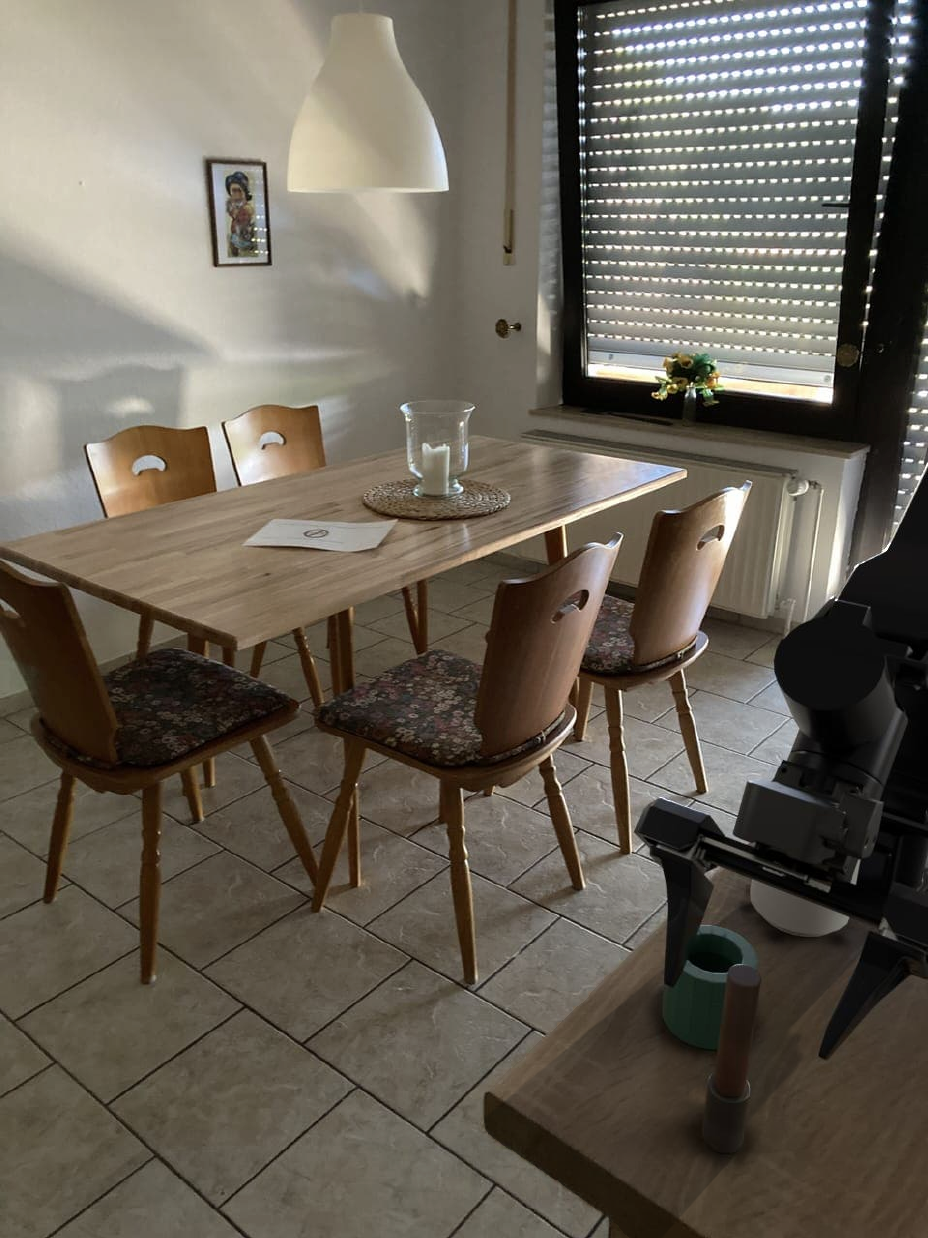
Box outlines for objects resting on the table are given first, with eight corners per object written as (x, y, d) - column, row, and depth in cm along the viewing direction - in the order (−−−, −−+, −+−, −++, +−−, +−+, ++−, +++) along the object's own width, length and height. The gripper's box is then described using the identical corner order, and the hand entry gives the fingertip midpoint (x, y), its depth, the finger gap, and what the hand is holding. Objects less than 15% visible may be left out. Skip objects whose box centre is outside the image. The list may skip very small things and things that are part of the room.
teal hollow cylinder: (692, 977, 74) (700, 913, 72) (764, 1019, 70) (773, 953, 68) (645, 1017, 70) (651, 952, 68) (717, 1064, 66) (726, 996, 64)
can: (756, 874, 85) (773, 746, 81) (851, 897, 82) (875, 765, 78) (741, 929, 79) (759, 793, 74) (845, 955, 76) (870, 815, 71)
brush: (715, 1113, 63) (737, 954, 58) (750, 1137, 61) (775, 975, 56) (693, 1136, 61) (713, 974, 56) (728, 1161, 59) (752, 997, 55)
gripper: (660, 678, 61) (553, 924, 57) (1001, 777, 51) (900, 1086, 47) (704, 745, 70) (613, 963, 66) (1002, 841, 60) (917, 1106, 56)
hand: (742, 1020), depth 58 cm, fingers open, 9 cm apart
